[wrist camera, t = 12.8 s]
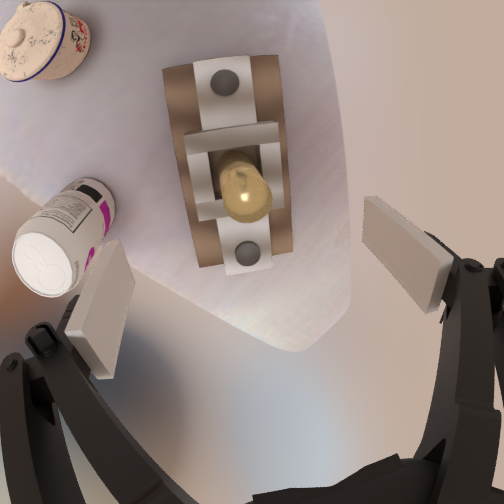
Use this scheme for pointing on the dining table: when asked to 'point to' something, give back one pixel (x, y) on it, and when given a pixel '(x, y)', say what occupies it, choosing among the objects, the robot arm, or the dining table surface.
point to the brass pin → (243, 188)
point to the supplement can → (63, 237)
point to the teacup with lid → (42, 43)
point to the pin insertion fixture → (226, 139)
